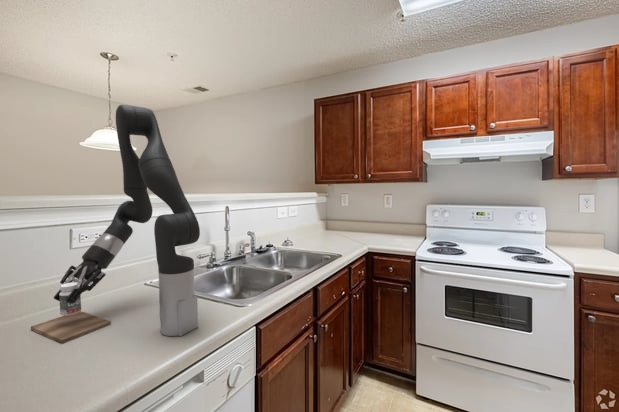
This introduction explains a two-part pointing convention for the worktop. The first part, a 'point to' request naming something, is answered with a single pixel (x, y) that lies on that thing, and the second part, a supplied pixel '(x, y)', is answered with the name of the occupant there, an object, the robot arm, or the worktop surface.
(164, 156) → the robot arm
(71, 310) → the pill bottle
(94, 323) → the walnut board
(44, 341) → the worktop surface
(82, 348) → the worktop surface
